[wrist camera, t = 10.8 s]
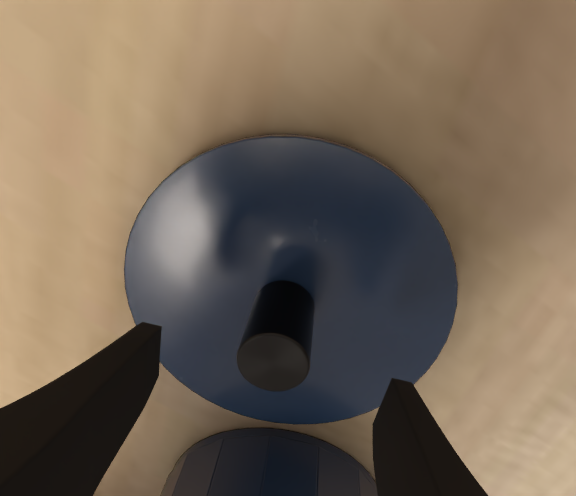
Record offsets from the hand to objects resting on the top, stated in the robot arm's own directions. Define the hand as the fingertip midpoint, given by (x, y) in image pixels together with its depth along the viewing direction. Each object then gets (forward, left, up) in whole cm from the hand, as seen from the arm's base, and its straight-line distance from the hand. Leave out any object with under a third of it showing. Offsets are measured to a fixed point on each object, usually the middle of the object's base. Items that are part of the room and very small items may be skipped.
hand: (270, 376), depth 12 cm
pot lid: (0, 0, -4) cm, 4 cm away
